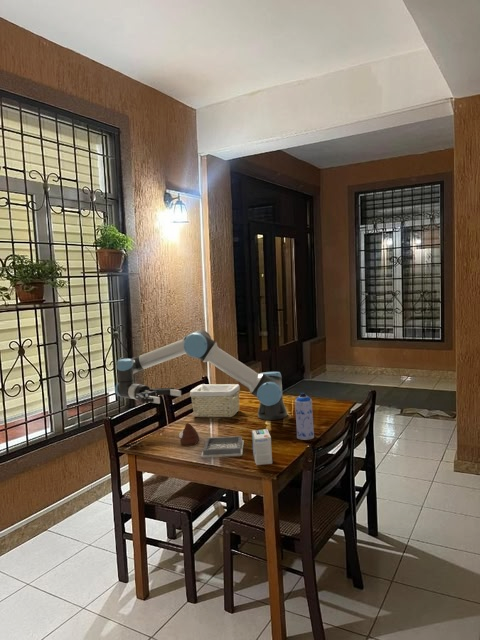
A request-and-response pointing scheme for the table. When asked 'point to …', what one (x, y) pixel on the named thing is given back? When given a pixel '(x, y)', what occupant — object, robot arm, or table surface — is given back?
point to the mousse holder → (223, 447)
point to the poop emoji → (188, 435)
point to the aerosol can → (304, 417)
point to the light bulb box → (262, 447)
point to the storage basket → (215, 400)
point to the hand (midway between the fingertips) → (170, 397)
